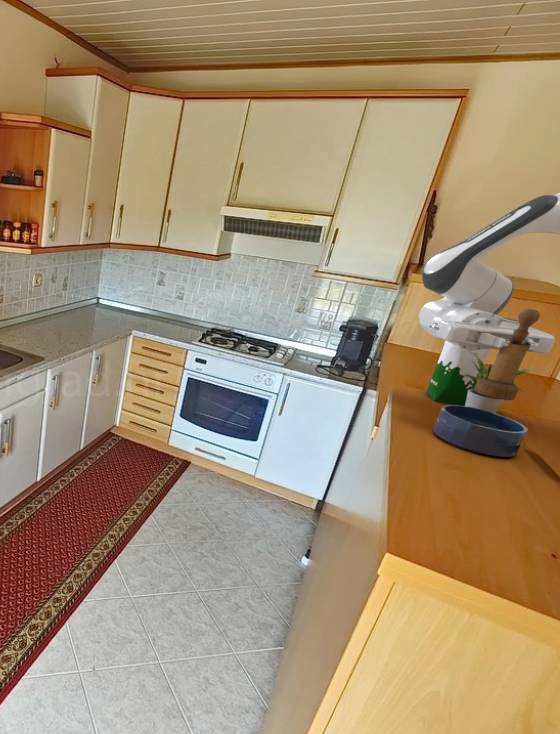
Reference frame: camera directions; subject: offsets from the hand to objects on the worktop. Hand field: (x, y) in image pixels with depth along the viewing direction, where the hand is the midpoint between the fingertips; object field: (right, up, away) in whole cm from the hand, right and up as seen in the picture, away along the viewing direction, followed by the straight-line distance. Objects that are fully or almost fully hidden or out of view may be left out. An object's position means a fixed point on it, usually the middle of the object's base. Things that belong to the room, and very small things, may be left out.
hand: (519, 345), depth 97 cm
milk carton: (+15, -12, +36) cm, 41 cm away
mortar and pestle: (-1, -10, +5) cm, 11 cm away
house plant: (+14, -16, +24) cm, 32 cm away
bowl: (-1, -20, +9) cm, 22 cm away
